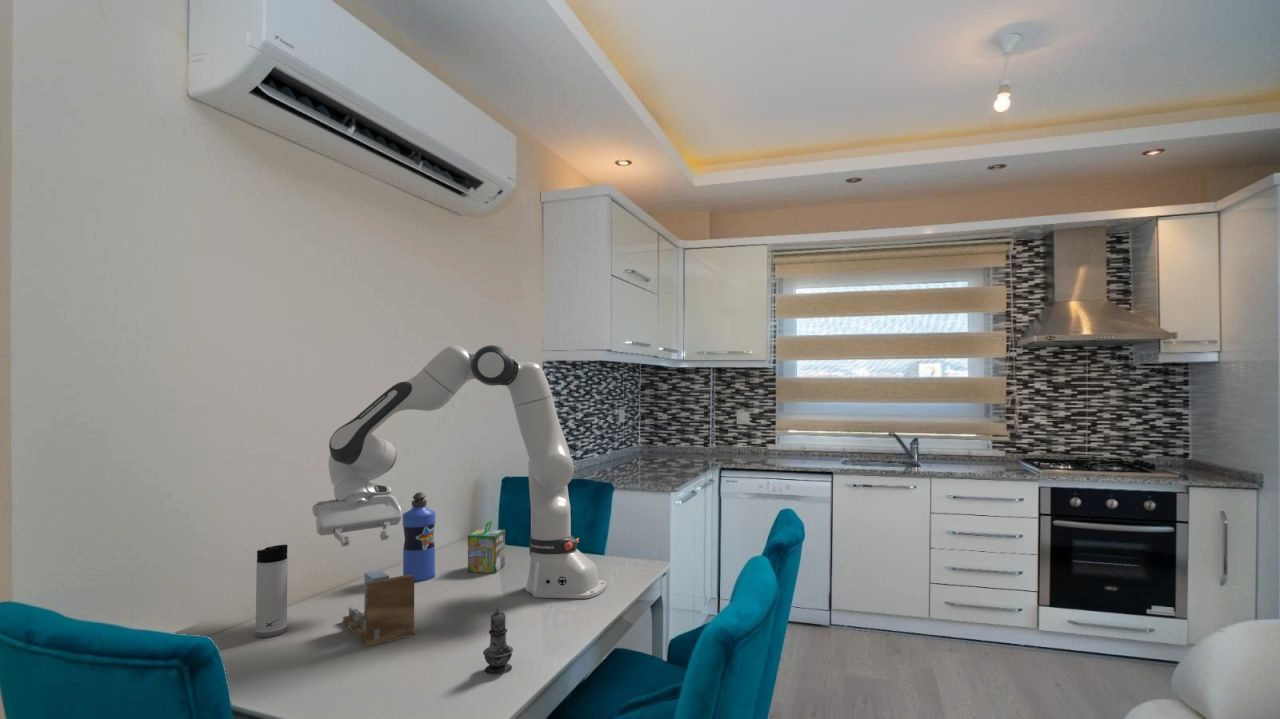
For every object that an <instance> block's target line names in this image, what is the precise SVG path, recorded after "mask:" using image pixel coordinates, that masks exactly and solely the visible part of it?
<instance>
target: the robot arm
mask: <svg viewBox="0 0 1280 719" xmlns="http://www.w3.org/2000/svg"><path fill="white" fill-rule="evenodd" d="M471 380H477V381H479V382H480V383H481V384H484V385H486V386H490V387H495V386H505V387H506V388H507V389H508V391H509V394H510V396H511V399H512V405H513V407H514V412H515V415H516V419H517V423H518V426H519V427H518V428H519V430H520V431H519V432H520V434H521V438H522V439H523V443H524V445H525V448H526V451H527V455H528V458H529V459H528V462H527V463H528V464H527V469H528V488H529V500H530V501H529V502H530V537H529V556H530V560H529V562H530V563H529V571H528V577H527V580H526V584H525V590H526V592H528V593H530V594H531V595H532V597H533V598H538V599H539V598H540V599H541V598H545V599H548V598H549V599H581V600H582V599H590V598H593V597H596V596H598V595H600V594H602V593H603V592H604V591H605V590H606V589H607V586H608V585H607V582H606V580H602V579H599V578H600V577H599V572H598V567H597V565H596V563H595V562H593V560H591V559H590V558H588V557H587V556H586V555H585V554H583V553H582V552H581V551H580V550H579V549H577V548H578V543H580V541H579V540H580V538H579V537H577V538H575V537H574V536H573V535H572V534H571V531H572V530H571V525H572V524H571V523H572V522H571V519H572V518H571V503H570V497H569V496H570V495H569V489H568V485H569V484H570V482H571V481H572V480H573V477H574V472H575V465H574V463H573V459H572V455H571V452H570V450H569V446H568V443H567V440H566V437H565V435H564V432H563V429H562V427H561V424H560V421H559V417H558V412H557V409H556V405H555V402H554V398H553V394H552V390H551V387H550V385H549V382H548V379H547V376H546V374H545V372H544V370H543V369H542V367H541V365H540V364H539V363H537V362H534V361H523V362H518V361H517V360H515V358H514V357H513V356H512V355H511V354H510V353H509V351H507V350H506V349H505V348H503V347H502V346H498V345H495V344H494V345H491V344H490V345H485V346H482V347H481V348H479V349H477V351H476V352H473V353H472V352H470V351H469V350H467V349H466V348H464V347H462V346H461V345H456V344H451V345H448V346H446V347H445V348H443V349H442V350H441V351H440V352H438V354H436V355H435V356H434V357H433V358H432V359H431V360H430V361H428V363H426V365H424V367H423V368H422V369H421V370H420V371H418V373H416V374H415V375H414V376H412V377H411V378H409V379H408V380H405V381H400V382H398V383H396V384H393V385H392V386H391V387H390V388H388V389H387V390H386V391H384V392H383V393H382V394H380V396H379V397H378V398H376V399H375V400H374V401H373V402H371V403H370V404H369V405H368V406H367V407H366V408H364V409H363V410H362V411H361V412H360V413H359V414H358V415H357V416H355V417H354V418H353V419H351V420H350V421H348V422H347V423H344V424H343V425H342V426H340V427H339V428H337V429H336V430H335V431H334V432H333V433H332V435H331V437H330V438H329V443H328V444H329V445H328V447H329V457H328V472H329V476H330V481H331V483H332V485H333V486H334V489H333V493H334V494H333V495H334V498H335V499H329V500H325V501H324V500H322V501H320V500H319V501H317V503H315V504H313V505H312V508H311V509H312V514H313V516H314V517H316V519H315V521H316V522H315V526H316V527H315V528H316V533H317V534H318V535H319V536H321V537H322V536H329V535H333V537H334V538H335V539H336V540H337V541H339V542H340V544H341V547H342V548H343V547H349V545H350V539H349V536H344V533H349V532H357V531H363V530H370V529H377V528H382V530H381V532H380V535H379V538H380V540H381V541H388V540H389V528H390V527H391V526H397V525H399V523H400V522H401V519H402V518H403V512H402V509H401V506H400V504H399V502H398V500H397V498H396V497H395V496H394V495H392V494H391V493H392V488H391V487H390V485H389V486H388V485H383V484H377V483H372V482H370V481H374V480H375V479H378V478H379V477H381V476H382V475H385V474H386V473H387V472H388V471H390V470H391V469H392V468H393V467H394V465H395V463H396V460H397V454H398V453H397V448H396V446H395V444H393V443H392V442H390V441H388V440H387V439H384V438H382V437H381V436H378V435H376V434H374V431H376V430H377V429H378V428H379V427H380V426H381V425H382V424H384V423H385V422H386V421H387V420H388V419H390V417H392V416H393V415H394V414H396V413H398V412H402V411H406V410H413V411H414V410H415V411H425V412H430V411H436V410H440V409H441V408H443V407H444V406H445V405H447V403H449V402H450V401H451V399H453V397H454V396H455V395H456V394H457V393H458V391H459V390H460V389H461V388H462V387H463V386H464V385H465V384H466V383H467V382H469V381H471ZM342 533H343V534H342Z"/></svg>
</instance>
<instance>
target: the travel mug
mask: <svg viewBox="0 0 1280 719" xmlns="http://www.w3.org/2000/svg"><path fill="white" fill-rule="evenodd" d="M288 548H289V547H288V544H278V545H273V546H272V545H271V546H268V547H267V546H266V547H265V548H264V549H258V550H257V551H256V572H255V573H256V574H255V575H256V576H255V578H256V579H255V580H256V581H255V582H256V583H255V589H256V590H255V636H256V637H258V638H262V637H265V638H271V637H272V636H273V637H276V635H277V636H280V635H282V634H284V633H285V632H286V631H287V630H288V624H287V622H288V559H289V558H288ZM279 634H280V635H279Z"/></svg>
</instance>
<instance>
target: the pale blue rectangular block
mask: <svg viewBox="0 0 1280 719" xmlns="http://www.w3.org/2000/svg"><path fill="white" fill-rule="evenodd" d="M388 578H390V575H389V574H387V573H385V572H384V571H382V570H381V569H378V570H377V569H376V570H372V571H366V572H364V580H363V581H364V588H363V589H364V590H363V592H364V593H363V594H364V596H363V597H364V598H363V599H364V605H363V606H364V607H363V610H364V611H363V612H364V616H365V617H366V583H367V582H372V581H378V580H383V579H388Z"/></svg>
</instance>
